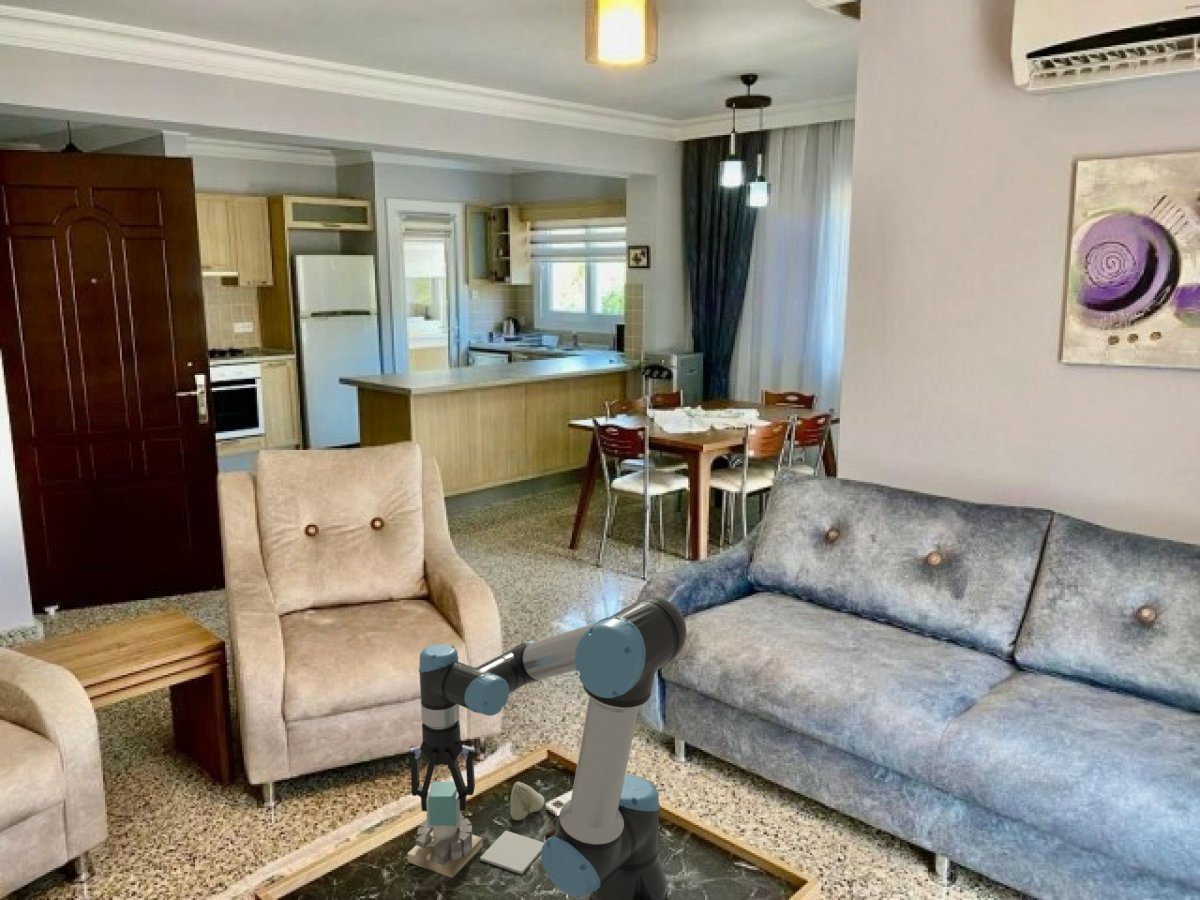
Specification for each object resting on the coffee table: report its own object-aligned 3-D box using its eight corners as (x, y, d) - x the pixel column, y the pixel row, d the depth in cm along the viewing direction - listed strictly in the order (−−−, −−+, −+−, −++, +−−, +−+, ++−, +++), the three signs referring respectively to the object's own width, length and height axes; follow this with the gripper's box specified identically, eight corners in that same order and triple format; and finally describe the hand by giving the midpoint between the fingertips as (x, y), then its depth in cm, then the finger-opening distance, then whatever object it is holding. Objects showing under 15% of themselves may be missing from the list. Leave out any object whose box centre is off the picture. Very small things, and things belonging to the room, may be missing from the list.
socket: (482, 846, 192) (481, 822, 191) (452, 877, 183) (451, 852, 181) (439, 832, 197) (438, 808, 196) (407, 861, 187) (406, 837, 186)
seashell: (509, 820, 197) (497, 787, 203) (519, 833, 204) (507, 801, 209) (543, 803, 198) (531, 770, 204) (552, 816, 205) (540, 784, 210)
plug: (459, 837, 192) (457, 781, 189) (456, 853, 187) (454, 796, 184) (426, 837, 192) (423, 781, 189) (422, 853, 187) (419, 796, 184)
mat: (546, 845, 192) (546, 843, 192) (522, 874, 184) (522, 871, 184) (505, 832, 197) (505, 830, 197) (480, 860, 188) (480, 857, 188)
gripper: (488, 711, 187) (490, 812, 192) (398, 711, 187) (403, 813, 192) (484, 729, 180) (487, 834, 185) (391, 730, 179) (396, 835, 184)
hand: (444, 823), depth 188 cm, fingers closed on plug, 5 cm apart
